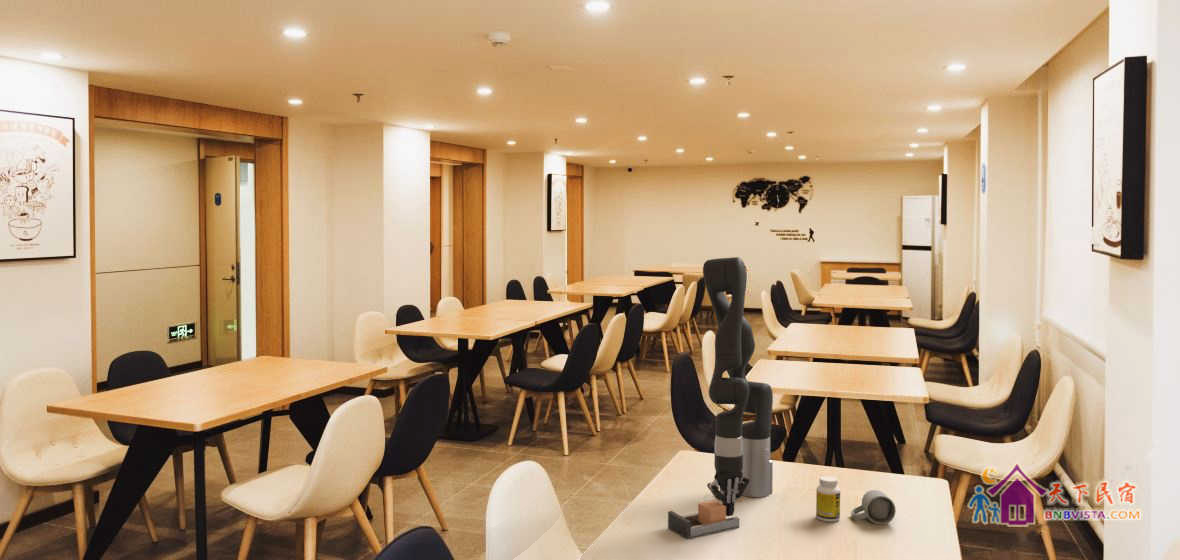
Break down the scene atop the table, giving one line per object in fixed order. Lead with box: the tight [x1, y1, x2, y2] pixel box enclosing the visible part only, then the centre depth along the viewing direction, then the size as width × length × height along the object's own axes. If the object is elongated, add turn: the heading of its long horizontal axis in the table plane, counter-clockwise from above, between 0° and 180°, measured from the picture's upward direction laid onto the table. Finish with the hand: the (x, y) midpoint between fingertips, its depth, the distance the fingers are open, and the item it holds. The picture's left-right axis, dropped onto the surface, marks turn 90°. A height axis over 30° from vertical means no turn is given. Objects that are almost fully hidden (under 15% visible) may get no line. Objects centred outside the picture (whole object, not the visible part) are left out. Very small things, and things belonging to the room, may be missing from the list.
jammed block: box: [697, 499, 727, 524], centre depth 210 cm, size 5×6×5 cm
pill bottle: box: [815, 475, 841, 523], centre depth 215 cm, size 6×6×11 cm
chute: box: [667, 510, 740, 540], centre depth 209 cm, size 17×9×4 cm, turn 118°
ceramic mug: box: [850, 489, 897, 526], centre depth 214 cm, size 11×8×8 cm
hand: (728, 515), depth 212 cm, fingers closed
